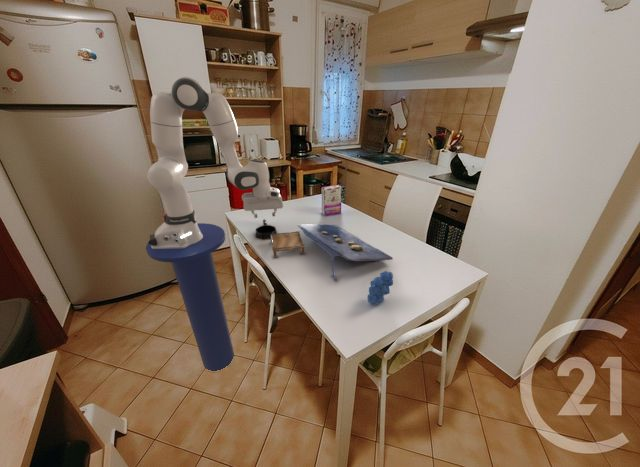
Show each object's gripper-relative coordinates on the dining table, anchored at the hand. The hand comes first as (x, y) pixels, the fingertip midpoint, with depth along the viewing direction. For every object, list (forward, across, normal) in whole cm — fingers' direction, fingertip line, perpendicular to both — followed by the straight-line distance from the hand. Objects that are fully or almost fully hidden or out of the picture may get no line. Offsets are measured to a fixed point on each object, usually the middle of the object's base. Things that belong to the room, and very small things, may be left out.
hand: (265, 216), depth 140 cm
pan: (+6, 0, -6) cm, 8 cm away
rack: (+6, +10, -25) cm, 28 cm away
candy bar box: (+6, +39, +12) cm, 41 cm away
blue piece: (+6, +33, -30) cm, 45 cm away
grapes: (+6, +39, -65) cm, 76 cm away
